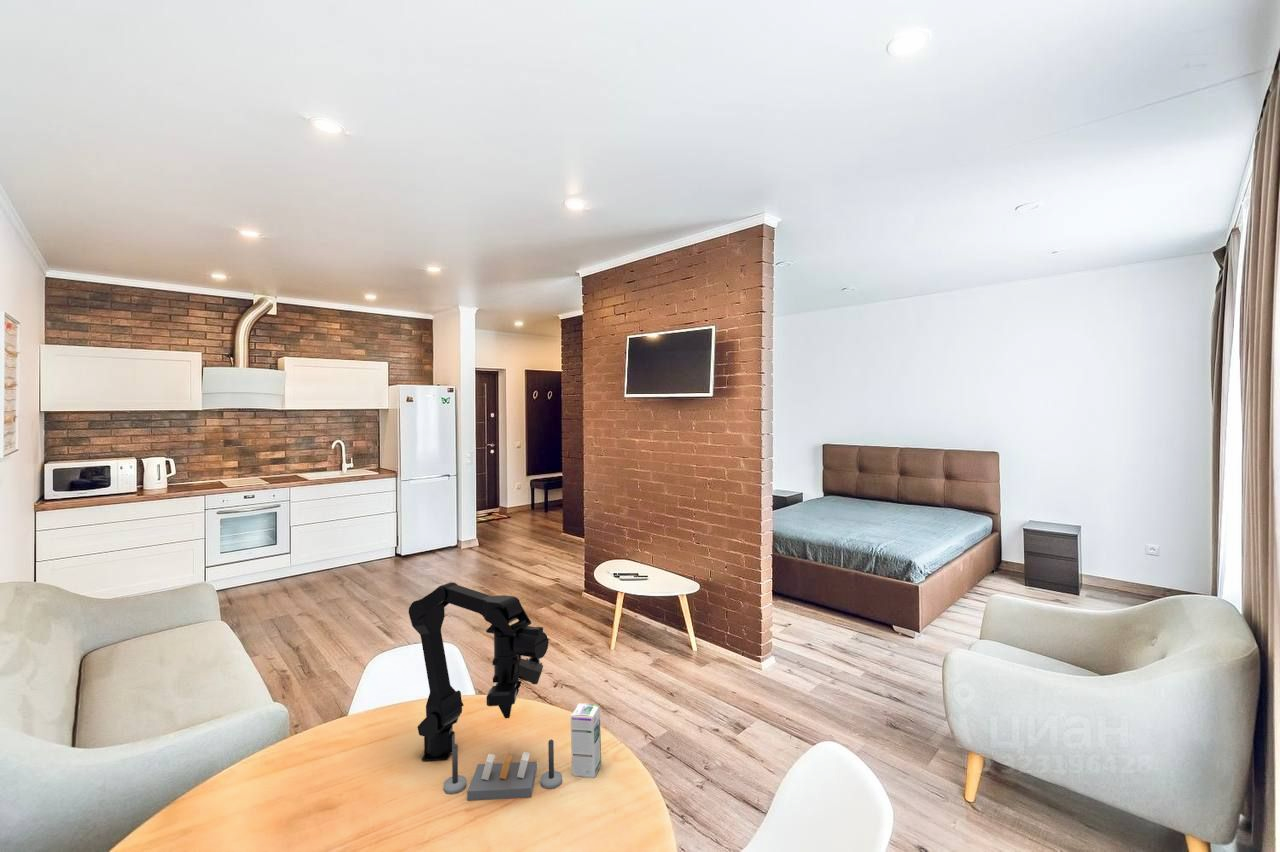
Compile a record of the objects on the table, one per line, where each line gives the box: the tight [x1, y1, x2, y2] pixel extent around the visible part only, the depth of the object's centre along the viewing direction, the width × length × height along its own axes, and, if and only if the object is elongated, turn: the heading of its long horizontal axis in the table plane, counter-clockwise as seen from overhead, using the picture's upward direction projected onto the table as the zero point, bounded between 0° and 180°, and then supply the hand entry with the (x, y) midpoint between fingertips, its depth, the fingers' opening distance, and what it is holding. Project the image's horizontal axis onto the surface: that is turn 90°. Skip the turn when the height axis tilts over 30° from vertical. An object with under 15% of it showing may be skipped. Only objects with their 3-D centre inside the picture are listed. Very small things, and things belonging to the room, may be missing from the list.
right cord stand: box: [539, 738, 563, 790], centre depth 126 cm, size 5×5×10 cm
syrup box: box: [570, 703, 602, 779], centre depth 131 cm, size 6×6×14 cm
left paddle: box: [481, 753, 496, 780], centre depth 125 cm, size 2×3×4 cm, turn 3°
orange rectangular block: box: [499, 752, 513, 779], centre depth 125 cm, size 2×3×4 cm, turn 3°
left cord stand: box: [443, 743, 468, 795], centre depth 125 cm, size 5×5×10 cm
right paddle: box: [517, 751, 531, 778], centre depth 126 cm, size 2×3×4 cm, turn 3°
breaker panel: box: [466, 760, 538, 802], centre depth 125 cm, size 14×10×2 cm
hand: (507, 717), depth 130 cm, fingers closed
